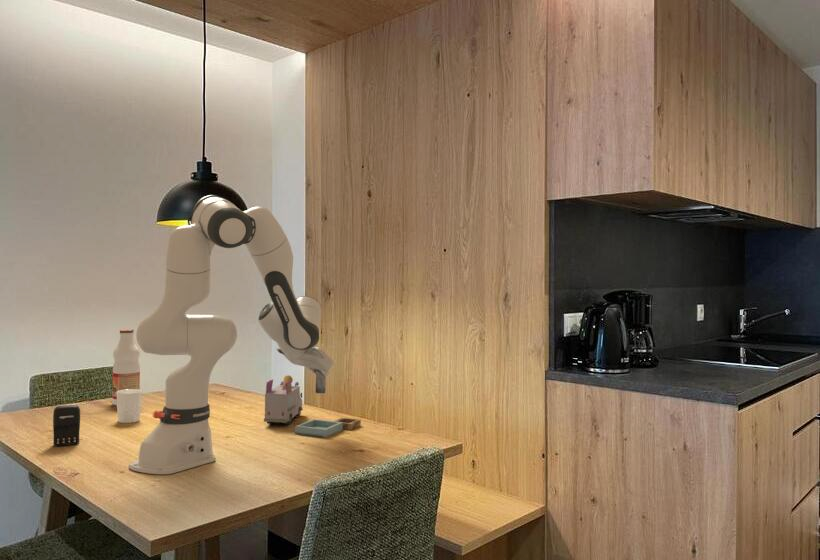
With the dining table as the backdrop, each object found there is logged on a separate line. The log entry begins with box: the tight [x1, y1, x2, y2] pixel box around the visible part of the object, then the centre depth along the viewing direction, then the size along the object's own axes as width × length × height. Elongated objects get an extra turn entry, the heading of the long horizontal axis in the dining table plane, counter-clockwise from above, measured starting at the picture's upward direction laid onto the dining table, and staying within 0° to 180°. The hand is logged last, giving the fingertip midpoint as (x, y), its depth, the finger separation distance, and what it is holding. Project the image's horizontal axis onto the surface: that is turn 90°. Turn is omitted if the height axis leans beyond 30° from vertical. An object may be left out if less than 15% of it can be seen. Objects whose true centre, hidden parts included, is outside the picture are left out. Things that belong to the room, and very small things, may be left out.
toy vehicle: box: [263, 374, 303, 426], centre depth 220 cm, size 9×20×15 cm, turn 174°
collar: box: [334, 417, 362, 431], centre depth 213 cm, size 7×7×2 cm
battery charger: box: [52, 403, 81, 447], centre depth 185 cm, size 7×4×11 cm, turn 118°
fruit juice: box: [111, 328, 141, 407], centre depth 242 cm, size 9×9×28 cm
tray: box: [294, 418, 344, 439], centre depth 206 cm, size 11×11×2 cm
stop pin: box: [315, 369, 327, 394], centre depth 205 cm, size 4×4×11 cm
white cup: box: [116, 389, 143, 424], centre depth 216 cm, size 8×8×10 cm
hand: (322, 373), depth 206 cm, fingers closed on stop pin, 3 cm apart
